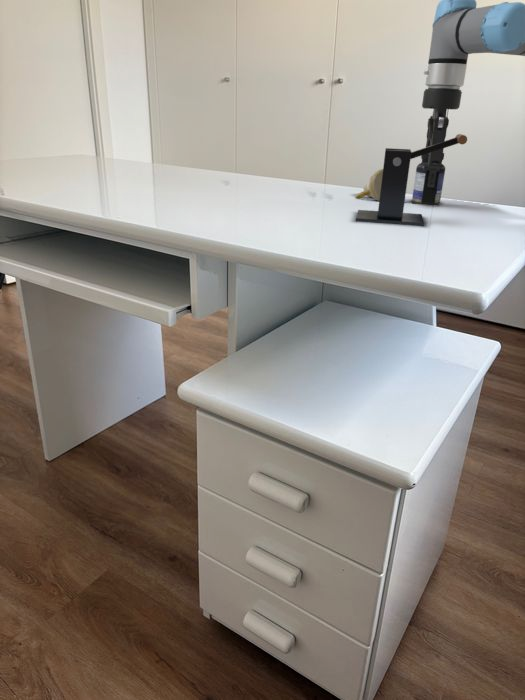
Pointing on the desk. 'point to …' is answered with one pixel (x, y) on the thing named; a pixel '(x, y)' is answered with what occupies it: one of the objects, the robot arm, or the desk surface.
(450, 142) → the lever
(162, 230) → the desk surface
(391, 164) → the bracket
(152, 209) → the desk surface
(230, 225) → the desk surface
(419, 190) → the pill bottle
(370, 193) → the tan rounded piece
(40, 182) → the desk surface
